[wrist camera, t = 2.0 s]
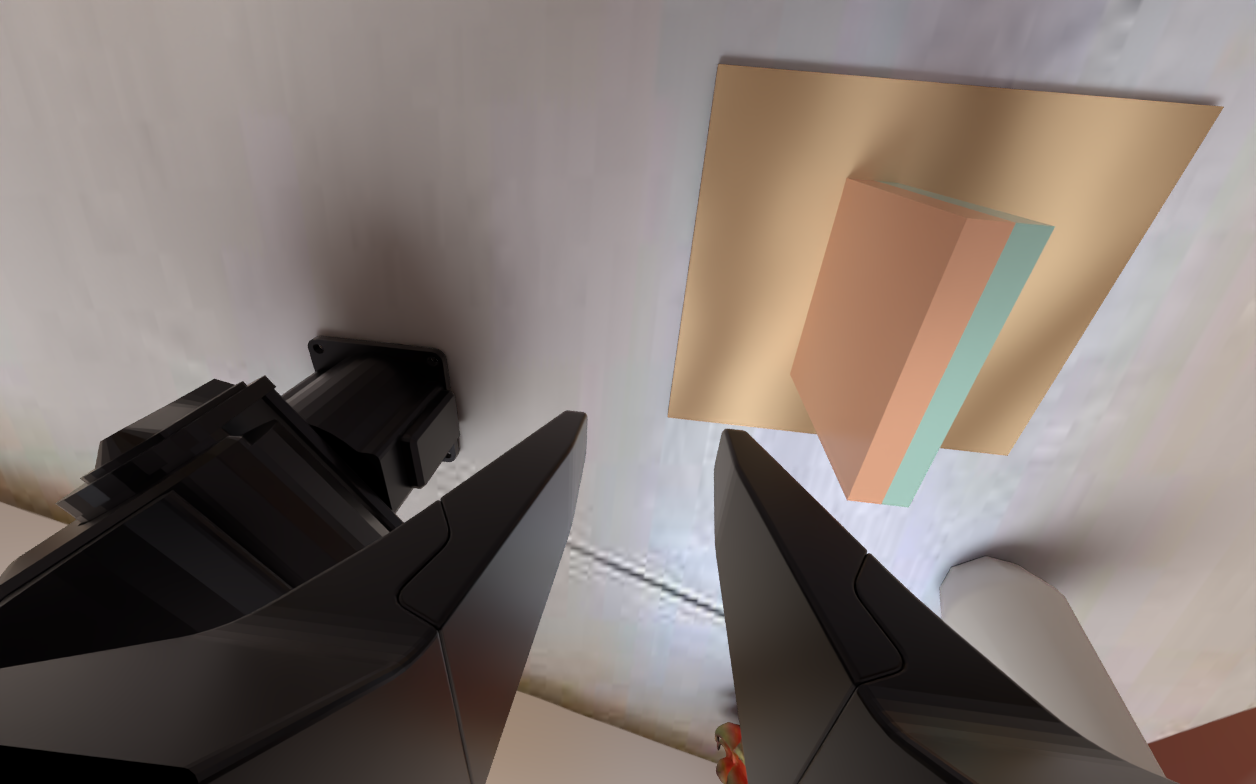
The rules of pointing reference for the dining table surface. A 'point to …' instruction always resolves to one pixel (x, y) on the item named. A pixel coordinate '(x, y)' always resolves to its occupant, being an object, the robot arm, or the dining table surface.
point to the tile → (904, 327)
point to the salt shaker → (1041, 651)
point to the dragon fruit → (731, 755)
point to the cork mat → (929, 160)
